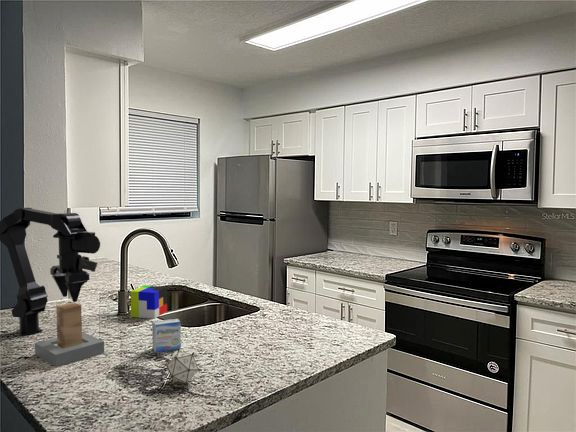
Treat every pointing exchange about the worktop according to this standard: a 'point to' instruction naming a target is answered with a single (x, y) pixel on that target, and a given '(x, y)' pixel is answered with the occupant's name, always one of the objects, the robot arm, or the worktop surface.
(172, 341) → the medicine box
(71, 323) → the post
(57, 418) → the worktop surface
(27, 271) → the robot arm
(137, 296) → the puzzle toy
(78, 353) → the base plate
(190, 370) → the game die
